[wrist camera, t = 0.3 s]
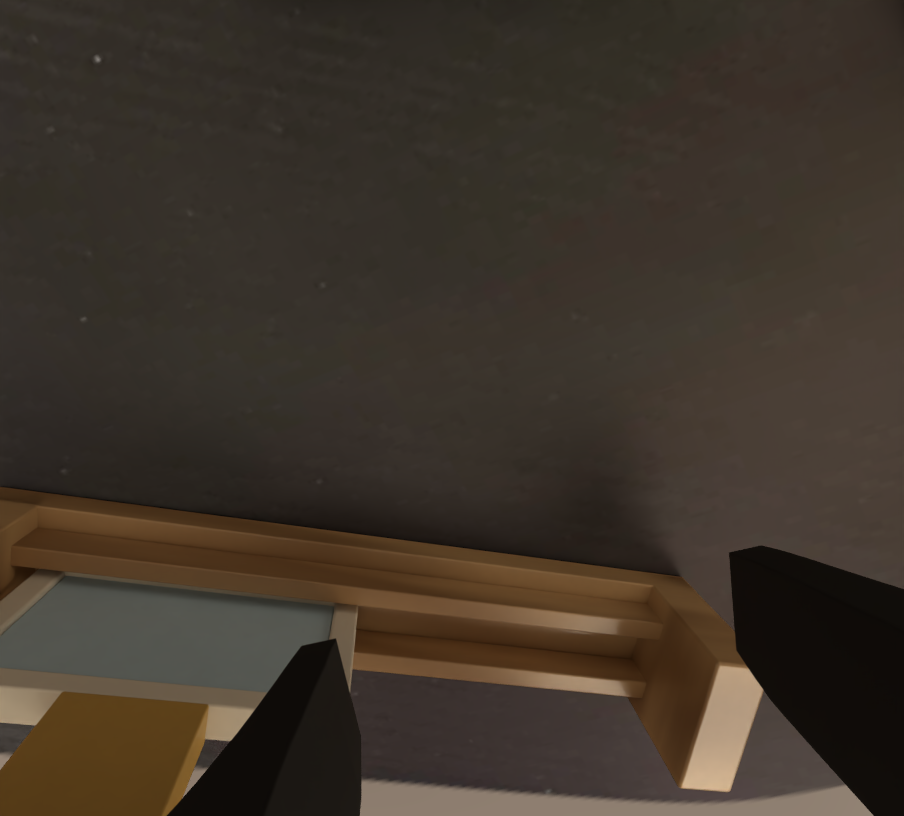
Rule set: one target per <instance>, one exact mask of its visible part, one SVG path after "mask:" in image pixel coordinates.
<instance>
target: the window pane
mask: <svg viewBox="0 0 904 816" xmlns="http://www.w3.org/2000/svg"><path fill="white" fill-rule="evenodd" d="M357 614H358V605H350V604H341V603H332V602H324V601H315V600H306V599H298V598H289V597H280V596H272V595H263V594H254V593H246V592H237V591H229V590H220V589H211V588H203V587H194V586H185V585H177V584H168V583H159V582H151V581H142V580H133V579H125V578H116V577H107V576H99V575H90V574H81V573H73V572H64V571H55V570H47V569H38V570H37V571H36V572H35V573H33V574H32V575H31V576H30V577H29V578H27V579H26V580H25V581H24V582H23V583H21V584H20V585H19V586H18V587H16V588H15V589H14V590H13V591H12V592H10V593H9V594H8V595H7V596H6V597H4V598H3V599H2V600H1V601H0V723H13V724H25V725H36V726H35V727H34V728H33V729H32V731H31V732H30V733H29V735H28V736H27V737H26V738H25V740H24V741H23V742H22V743H21V745H20V746H19V747H18V748H17V750H16V751H15V752H14V753H13V755H12V756H11V757H10V759H9V760H8V761H7V762H6V764H5V765H4V766H3V767H2V769H1V770H0V816H167V815H168V814H169V812H170V811H171V810H172V809H173V808H174V807H175V806H176V805H177V804H178V803H179V802H180V800H181V799H182V797H183V795H184V792H185V789H186V787H187V785H188V782H189V780H190V777H191V775H192V772H193V770H194V767H195V765H196V762H197V760H198V757H199V755H200V752H201V750H202V747H203V745H204V742H205V739H210V740H223V741H231V740H232V739H233V737H234V736H235V735H236V734H237V733H238V731H239V730H240V729H241V727H242V726H243V725H244V723H245V722H246V721H247V719H248V718H249V717H250V715H251V714H252V713H253V711H254V710H255V709H256V707H257V706H258V705H259V703H260V702H261V701H262V699H263V698H264V696H265V695H266V694H267V692H268V691H269V690H270V688H271V687H272V685H273V684H274V683H275V681H276V680H277V678H278V677H279V676H280V674H281V673H282V671H283V670H284V669H285V667H286V666H287V665H288V663H289V662H290V660H291V659H292V658H293V656H294V655H295V654H296V652H297V651H298V650H299V648H300V647H301V646H303V645H307V644H312V643H316V642H321V641H326V640H330V639H335V638H336V640H337V644H338V648H339V652H340V656H341V660H342V664H343V668H344V672H345V676H346V680H347V684H348V688H349V692H350V687H351V676H352V666H353V656H354V645H355V635H356V625H357Z"/></svg>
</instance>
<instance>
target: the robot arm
mask: <svg viewBox="0 0 904 816" xmlns="http://www.w3.org/2000/svg"><path fill="white" fill-rule="evenodd" d="M729 557H730V571H731V585H732V599H733V612H734V626H735V640H736V651H737V652H738V654H739V655H740V657H741V658H742V660H743V661H744V663H745V664H746V666H747V667H748V669H749V670H750V672H751V673H752V674H753V676H754V677H755V679H756V680H757V682H758V683H759V684H760V686H761V687H762V689H763V690H764V691H765V693H766V694H767V696H768V697H769V698H770V700H771V701H772V702H773V703H774V705H775V706H776V707H777V708H778V709H779V710H780V711H781V713H782V714H783V715H784V716H785V717H786V718H787V719H788V721H789V722H790V723H791V724H792V725H793V726H794V727H795V728H796V730H797V731H798V732H799V733H800V734H801V735H802V736H803V738H804V739H805V740H806V741H807V742H808V743H809V744H810V745H811V746H812V748H813V749H814V750H815V751H816V752H817V753H818V754H819V755H820V756H821V758H822V759H823V760H824V761H825V762H826V763H827V764H828V765H829V766H830V768H831V769H832V770H833V771H834V772H835V773H836V774H837V775H838V776H839V778H840V779H841V780H842V781H843V782H844V783H845V784H846V785H847V786H848V788H849V789H850V790H851V791H852V792H853V793H854V794H855V795H856V796H857V797H858V799H859V800H860V801H861V802H862V803H863V804H864V805H865V806H866V807H867V809H868V810H869V811H870V812H871V813H872V814H873V815H874V816H904V589H901V588H898V587H895V586H892V585H888V584H885V583H882V582H879V581H876V580H873V579H870V578H866V577H863V576H860V575H857V574H854V573H851V572H848V571H845V570H842V569H839V568H836V567H833V566H829V565H826V564H823V563H820V562H817V561H814V560H811V559H808V558H805V557H801V556H798V555H795V554H792V553H788V552H785V551H781V550H778V549H774V548H770V547H765V546H757V547H752V548H748V549H743V550H739V551H734V552H730V553H729ZM360 805H361V735H360V731H359V727H358V723H357V719H356V715H355V711H354V707H353V703H352V699H351V696H350V692H349V688H348V684H347V680H346V676H345V672H344V668H343V664H342V660H341V656H340V652H339V648H338V644H337V640H336V638H335V639H330V640H326V641H321V642H316V643H312V644H307V645H303V646H301V647H300V648H299V650H298V651H297V652H296V654H295V655H294V656H293V658H292V659H291V660H290V662H289V663H288V665H287V666H286V667H285V669H284V670H283V671H282V673H281V674H280V676H279V677H278V678H277V680H276V681H275V683H274V684H273V685H272V687H271V688H270V690H269V691H268V692H267V694H266V695H265V696H264V698H263V699H262V701H261V702H260V703H259V705H258V706H257V707H256V709H255V710H254V711H253V713H252V714H251V715H250V717H249V718H248V719H247V721H246V722H245V723H244V725H243V726H242V727H241V729H240V730H239V731H238V733H237V734H236V735H235V736H234V737H233V739H232V740H231V741H230V742H229V744H228V745H227V746H226V747H225V748H224V750H223V751H222V752H221V753H220V755H219V756H218V757H217V758H216V759H215V761H214V762H213V763H212V764H211V765H210V767H209V768H208V769H207V770H206V772H205V773H204V774H203V775H202V776H201V778H200V779H199V780H198V781H197V783H196V784H195V785H194V786H193V787H192V788H191V789H190V790H189V792H188V793H187V794H186V795H185V796H184V797H183V798H182V799H181V800H180V802H179V803H178V804H177V805H176V806H175V807H174V808H173V809H172V810H171V811H170V812H169V814H168V815H167V816H360Z"/></svg>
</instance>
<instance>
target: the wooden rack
mask: <svg viewBox="0 0 904 816" xmlns="http://www.w3.org/2000/svg"><path fill="white" fill-rule="evenodd" d="M38 569H47V570H55V571H64V572H73V573H81V574H90V575H99V576H107V577H116V578H125V579H133V580H142V581H151V582H159V583H168V584H177V585H185V586H194V587H203V588H211V589H220V590H229V591H237V592H246V593H254V594H263V595H272V596H280V597H289V598H298V599H306V600H315V601H324V602H332V603H341V604H350V605H358V614H357V625H356V635H355V645H354V656H353V666H352V669H356V670H366V671H375V672H385V673H395V674H405V675H415V676H425V677H435V678H445V679H455V680H465V681H475V682H485V683H495V684H505V685H515V686H525V687H535V688H545V689H555V690H565V691H575V692H585V693H595V694H605V695H615V696H625V697H628V699H629V701H630V703H631V704H632V706H633V708H634V710H635V711H636V713H637V715H638V717H639V718H640V720H641V722H642V724H643V726H644V727H645V729H646V731H647V733H648V734H649V736H650V738H651V740H652V741H653V743H654V745H655V747H656V749H657V750H658V752H659V754H660V756H661V757H662V759H663V761H664V763H665V764H666V766H667V768H668V770H669V771H670V773H671V775H672V777H673V779H674V780H675V782H676V784H677V786H678V787H679V788H682V789H695V790H707V791H720V792H729V791H730V790H731V787H732V784H733V781H734V778H735V775H736V772H737V769H738V766H739V763H740V760H741V757H742V754H743V751H744V748H745V745H746V742H747V739H748V736H749V733H750V730H751V727H752V724H753V721H754V718H755V715H756V712H757V709H758V706H759V703H760V700H761V697H762V694H763V691H764V690H763V689H762V687H761V686H760V684H759V683H758V682H757V680H756V679H755V677H754V676H753V674H752V673H751V672H750V670H749V669H748V667H747V666H746V664H745V663H744V661H743V660H742V658H741V657H740V655H739V654H738V652H737V651H736V640H735V631H734V630H733V629H732V628H731V627H730V626H729V625H728V624H727V623H726V622H725V621H724V620H723V619H722V618H721V617H720V616H719V615H718V614H717V613H716V612H715V611H714V610H713V609H712V608H711V607H710V606H709V605H708V604H707V603H706V602H705V601H704V600H703V599H702V598H701V597H700V595H699V594H698V593H697V592H696V591H695V590H694V589H693V588H692V587H691V586H690V585H689V584H688V583H687V582H686V581H685V579H684V578H682V577H678V576H671V575H663V574H656V573H648V572H640V571H633V570H625V569H618V568H610V567H603V566H595V565H588V564H580V563H572V562H565V561H557V560H550V559H542V558H535V557H527V556H520V555H512V554H504V553H497V552H489V551H482V550H474V549H467V548H459V547H452V546H444V545H436V544H429V543H421V542H414V541H406V540H399V539H391V538H383V537H376V536H368V535H361V534H353V533H346V532H338V531H331V530H323V529H315V528H308V527H300V526H293V525H285V524H278V523H270V522H263V521H255V520H247V519H240V518H232V517H225V516H217V515H210V514H202V513H194V512H187V511H179V510H172V509H164V508H157V507H149V506H142V505H134V504H126V503H119V502H111V501H104V500H96V499H89V498H81V497H74V496H66V495H58V494H51V493H43V492H36V491H28V490H21V489H13V488H5V487H0V601H1V600H2V599H3V598H4V597H6V596H7V595H8V594H9V593H10V592H12V591H13V590H14V589H15V588H16V587H18V586H19V585H20V584H21V583H23V582H24V581H25V580H26V579H27V578H29V577H30V576H31V575H32V574H33V573H35V572H36V571H37V570H38Z"/></svg>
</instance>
